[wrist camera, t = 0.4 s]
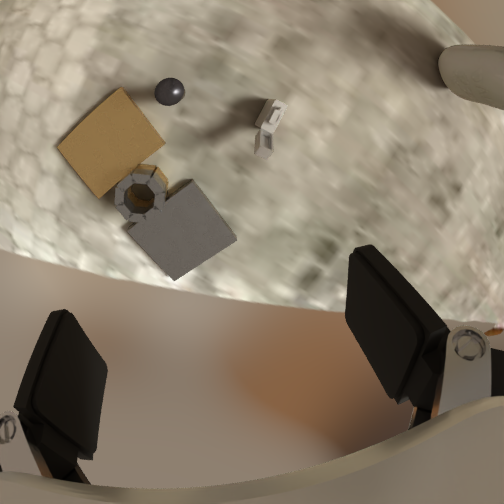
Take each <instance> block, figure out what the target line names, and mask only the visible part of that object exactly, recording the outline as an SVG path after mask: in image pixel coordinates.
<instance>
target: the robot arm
mask: <svg viewBox="0 0 504 504" xmlns="http://www.w3.org/2000/svg"><path fill="white" fill-rule="evenodd" d="M345 318H346V322H347V324H348V326H349V328H350V330H351V331H352V333H353V335H354V336H355V338H356V340H357V342H358V343H359V345H360V347H361V348H362V350H363V352H364V354H365V355H366V357H367V359H368V361H369V363H370V364H371V366H372V368H373V370H374V371H375V373H376V375H377V377H378V379H379V380H380V382H381V384H382V386H383V388H384V389H385V391H386V393H387V395H388V396H389V397H390V398H391V399H393V398H394V399H395V400H396V402H397V404H401V403H403V402H405V401H407V400H409V399H410V401H411V402H412V404H413V406H414V409H413V413H412V417H411V421H410V425H409V428H408V431H405V432H404V433H401V434H399V435H397V436H395V437H392V438H390V439H388V440H386V441H383V442H381V443H378V444H376V445H373V446H371V447H368V448H365V449H363V450H360V451H358V452H355V453H352V454H350V455H347V456H344V457H341V458H338V459H335V460H332V461H329V462H326V463H323V464H319V465H316V466H312V467H309V468H306V469H302V470H298V471H294V472H290V473H285V474H281V475H277V476H272V477H267V478H262V479H257V480H251V481H245V482H239V483H232V484H225V485H215V486H205V487H193V488H170V489H144V488H121V487H109V486H99V485H91V483H90V482H89V481H88V479H87V477H86V476H85V474H84V473H83V471H82V470H81V468H80V467H79V465H78V463H77V457H78V458H80V459H84V460H93V453H94V452H95V451H96V449H97V440H98V431H99V423H100V415H101V408H102V402H103V395H104V389H105V383H106V378H107V372H108V370H107V365H106V363H105V361H104V360H103V359H102V357H101V356H100V354H99V353H98V352H97V350H96V349H95V347H94V346H93V345H92V343H91V341H90V340H89V338H88V337H87V336H86V334H85V333H84V331H83V329H82V328H81V326H80V325H79V323H78V321H77V320H76V318H75V317H74V315H73V314H72V313H69V311H68V310H66V309H63V310H57V311H53V312H51V313H50V315H49V317H48V319H47V321H46V323H45V325H44V328H43V330H42V332H41V334H40V337H39V339H38V341H37V343H36V346H35V348H34V351H33V353H32V355H31V358H30V360H29V363H28V366H27V368H26V371H25V374H24V376H23V379H22V382H21V385H20V388H19V391H18V394H17V397H16V400H15V403H14V408H15V409H16V410H17V411H19V415H18V416H17V415H16V414H15V413H14V412H11V411H7V412H4V413H2V414H1V415H0V504H504V351H501V350H497V349H493V348H490V343H489V340H488V339H487V337H486V336H485V334H484V333H483V332H482V331H480V330H478V329H477V328H474V327H472V326H464V325H463V326H458V327H456V328H454V329H453V330H452V331H450V330H449V329H448V328H447V325H446V324H445V323H444V322H443V320H442V319H441V318H440V317H439V316H438V314H437V313H436V312H435V311H434V310H433V309H432V308H431V306H430V305H429V304H428V303H427V302H426V301H425V300H424V299H423V297H422V296H421V295H420V294H419V293H418V292H417V291H416V290H415V289H414V287H413V286H412V285H411V284H410V283H409V282H408V281H407V280H406V279H405V278H404V277H403V276H402V275H401V273H400V272H399V271H398V270H397V269H396V268H395V267H394V266H393V265H392V264H391V263H390V262H389V261H388V260H387V259H386V258H385V257H384V256H383V255H382V254H381V253H380V252H379V251H378V250H377V249H376V248H375V247H374V246H373V245H365V246H361V247H357V248H355V249H354V251H353V253H351V254H350V255H349V268H348V284H347V297H346V309H345Z"/></svg>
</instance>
